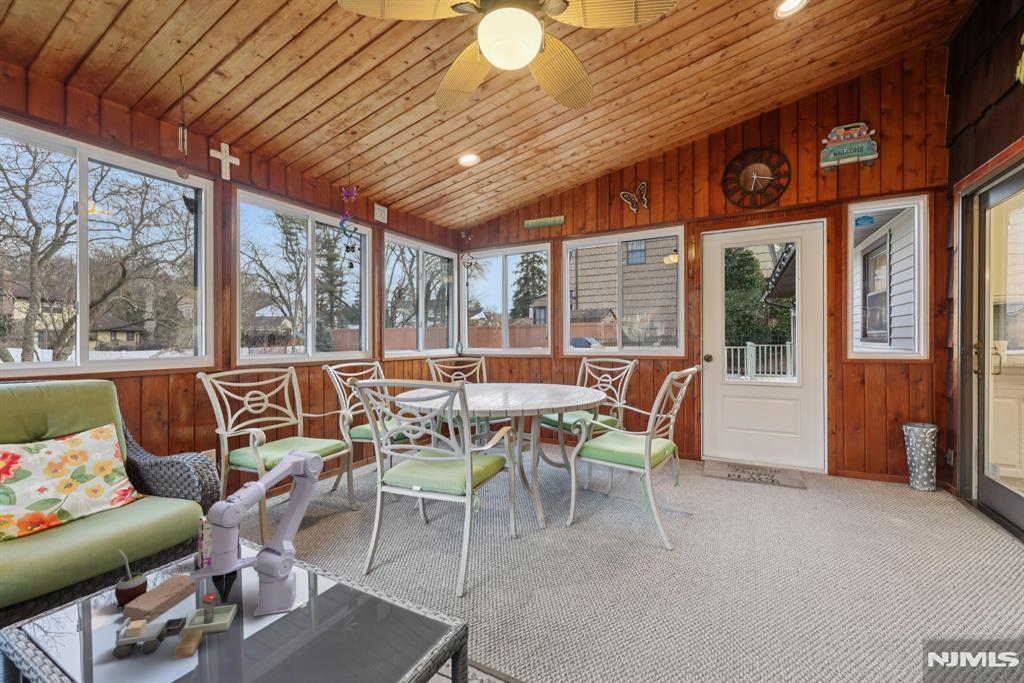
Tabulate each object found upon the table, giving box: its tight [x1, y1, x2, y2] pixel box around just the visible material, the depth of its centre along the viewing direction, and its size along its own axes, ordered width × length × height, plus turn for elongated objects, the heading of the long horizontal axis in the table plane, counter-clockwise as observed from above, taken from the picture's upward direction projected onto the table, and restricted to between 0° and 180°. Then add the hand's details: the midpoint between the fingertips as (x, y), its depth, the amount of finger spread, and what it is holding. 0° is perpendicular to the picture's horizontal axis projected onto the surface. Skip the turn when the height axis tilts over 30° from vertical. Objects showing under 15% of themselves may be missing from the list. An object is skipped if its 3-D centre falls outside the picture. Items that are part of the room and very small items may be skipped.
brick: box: [122, 574, 199, 625], centre depth 127 cm, size 16×8×5 cm, turn 171°
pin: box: [201, 592, 217, 624], centre depth 119 cm, size 3×3×7 cm
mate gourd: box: [114, 549, 148, 609], centre depth 126 cm, size 8×8×15 cm
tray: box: [182, 603, 238, 637], centre depth 119 cm, size 10×8×2 cm
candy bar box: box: [197, 515, 241, 569], centre depth 150 cm, size 11×5×16 cm, turn 136°
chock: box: [174, 630, 203, 660], centre depth 110 cm, size 4×6×3 cm, turn 17°
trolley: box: [112, 617, 167, 660], centre depth 110 cm, size 9×5×7 cm, turn 106°
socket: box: [164, 616, 187, 637], centre depth 117 cm, size 4×4×2 cm
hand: (224, 600), depth 114 cm, fingers closed
